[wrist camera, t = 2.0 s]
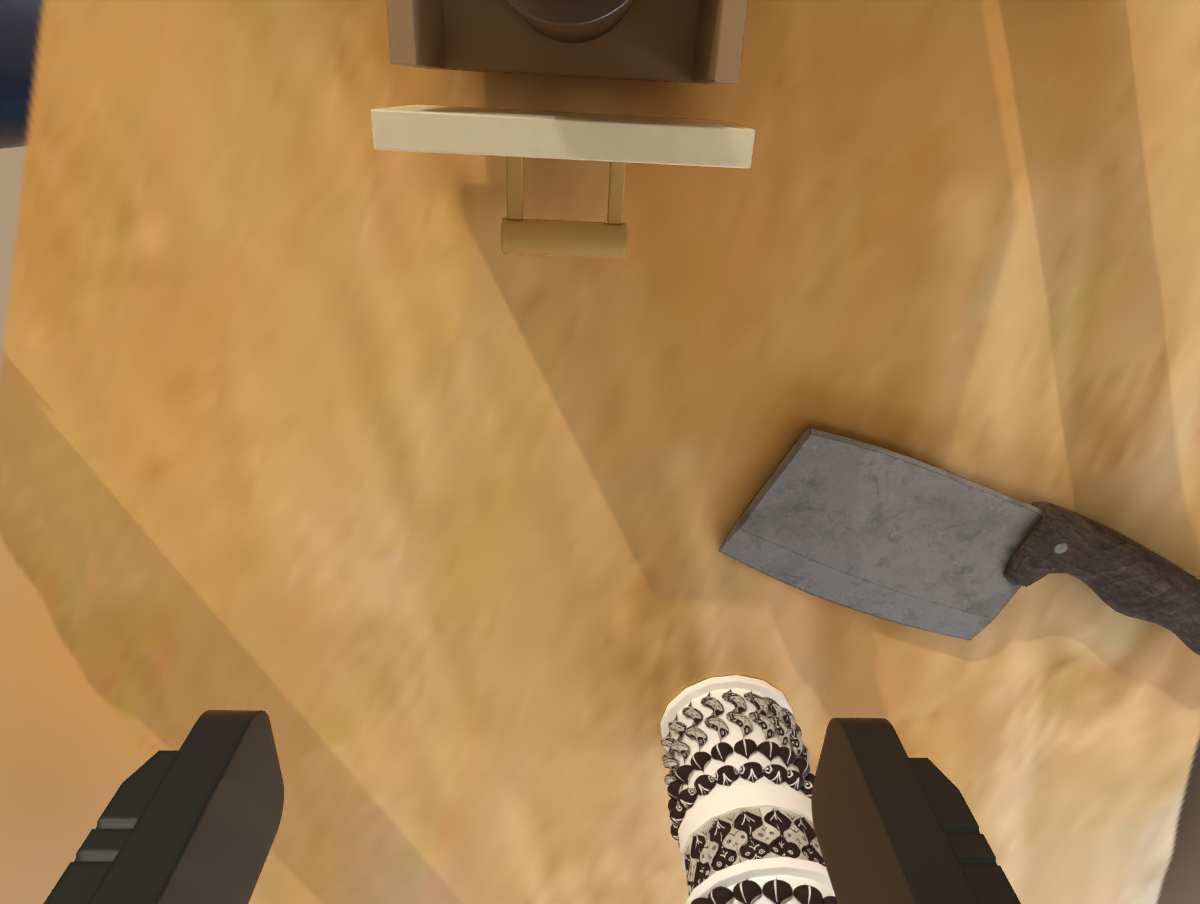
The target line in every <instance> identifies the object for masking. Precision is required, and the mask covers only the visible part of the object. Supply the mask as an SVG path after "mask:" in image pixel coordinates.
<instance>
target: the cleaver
mask: <svg viewBox="0 0 1200 904" xmlns="http://www.w3.org/2000/svg"><path fill="white" fill-rule="evenodd" d="M719 552H721V553H723V554H725V555H727V556H729V557H731V558H733V559H735V560H737V561H739V562H741V563H743V564H745V565H747V566H749V567H751V568H754V569H756V570H758V571H760V572H762V573H764V574H766V575H768V576H771V577H773V578H775V579H777V580H779V581H781V582H784V583H786V584H789V585H791V586H793V587H796V588H798V589H800V590H803V591H805V592H808V593H810V594H813V595H815V596H818V597H821V598H823V599H826V600H829V601H831V602H834V603H837V604H839V605H842V606H845V607H848V608H851V609H854V610H857V611H860V612H863V613H866V614H869V615H872V616H876V617H879V618H883V619H886V620H890V621H893V622H897V623H900V624H904V625H907V626H911V627H915V628H919V629H923V630H927V631H931V632H935V633H940V634H944V635H948V636H953V637H957V638H962V639H966V640H971V639H972V638H973V637H974V636H976V635H977V634H978V633H979V632H980V631H981V630H982V629H983V628H984V627H986V626H987V625H988V624H989V623H990V622H991V621H992V620H993V619H994V618H995V617H996V616H997V615H998V613H999V612H1000V611H1001V610H1002V609H1003V607H1004V606H1005V605H1006V604H1007V603H1008V601H1009V600H1010V599H1011V598H1012V596H1013V595H1014V594H1015V593H1016V592H1017V590H1018V589H1019V588H1020V587H1021V586H1026V587H1027V586H1029V585H1031V584H1032V583H1034V582H1036V581H1038V580H1039V579H1041V578H1042V577H1044V576H1046V575H1047V574H1049V573H1067V574H1069V575H1072V576H1075V577H1078V578H1080V579H1081V580H1082V581H1084V582H1085V583H1086V584H1088V585H1089V586H1090V587H1091V588H1092V590H1093V591H1094V592H1095V593H1096V594H1097V595H1098V596H1099V597H1100V598H1101V599H1102V600H1103V601H1104V602H1105V603H1106V604H1107V605H1109V606H1110V607H1111V608H1113V609H1114V610H1115V611H1117V612H1119V613H1122V614H1124V615H1127V616H1129V617H1133V618H1137V619H1141V620H1145V621H1149V622H1152V623H1156V624H1159V625H1161V626H1163V627H1165V628H1167V629H1169V630H1171V631H1172V632H1173V633H1175V634H1176V635H1177V636H1178V637H1179V638H1180V639H1181V640H1182V642H1183V643H1184V644H1185V645H1186V646H1187V647H1189V648H1190V649H1191V650H1192V651H1194V652H1195V653H1197V654H1198V655H1200V580H1198V579H1197V578H1195V577H1194V576H1192V575H1190V574H1189V573H1187V572H1186V571H1184V570H1182V569H1181V568H1179V567H1178V566H1176V565H1174V564H1173V563H1171V562H1169V561H1168V560H1166V559H1164V558H1163V557H1161V556H1159V555H1157V554H1156V553H1154V552H1152V551H1150V550H1149V549H1147V548H1145V547H1143V546H1142V545H1140V544H1138V543H1136V542H1134V541H1133V540H1131V539H1129V538H1127V537H1125V536H1123V535H1121V534H1119V533H1117V532H1115V531H1113V530H1112V529H1110V528H1107V527H1105V526H1103V525H1101V524H1099V523H1097V522H1094V521H1092V520H1090V519H1088V518H1085V517H1083V516H1081V515H1078V514H1076V513H1074V512H1071V511H1069V510H1066V509H1064V508H1061V507H1059V506H1056V505H1053V504H1050V503H1047V502H1036V503H1033V504H1032V505H1030V504H1028V503H1025V502H1023V501H1020V500H1018V499H1015V498H1013V497H1010V496H1007V495H1005V494H1002V493H1000V492H997V491H995V490H992V489H990V488H987V487H985V486H982V485H980V484H977V483H975V482H972V481H970V480H967V479H965V478H962V477H960V476H957V475H955V474H952V473H950V472H947V471H945V470H942V469H940V468H937V467H935V466H932V465H930V464H927V463H924V462H922V461H919V460H917V459H914V458H912V457H909V456H906V455H903V454H900V453H897V452H894V451H892V450H889V449H886V448H883V447H880V446H877V445H873V444H870V443H866V442H863V441H859V440H856V439H852V438H849V437H845V436H841V435H837V434H833V433H829V432H825V431H821V430H817V429H813V428H809V427H807V428H806V430H805V431H804V432H803V434H802V435H801V436H800V438H799V439H798V440H797V442H796V443H795V444H794V446H793V447H792V448H791V450H790V451H789V452H788V454H787V455H786V456H785V458H784V459H783V460H782V462H781V463H780V464H779V466H778V467H777V468H776V470H775V471H774V472H773V474H772V475H771V476H770V478H769V479H768V480H767V482H766V483H765V484H764V486H763V487H762V488H761V490H760V491H759V492H758V494H757V495H756V496H755V498H754V499H753V500H752V502H751V503H750V504H749V506H748V507H747V508H746V510H745V511H744V512H743V514H742V515H741V516H740V518H739V519H738V520H737V522H736V523H735V525H734V527H733V528H732V530H731V531H730V533H729V535H728V536H727V538H726V539H725V541H724V543H723V544H722V546H721V547H720V549H719Z"/></svg>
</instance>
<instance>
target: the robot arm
mask: <svg viewBox="0 0 1200 904" xmlns="http://www.w3.org/2000/svg"><path fill="white" fill-rule="evenodd" d="M283 802H284V785H283V779H282V774H281V770H280V765H279V761H278V756H277V752H276V747H275V742H274V738H273V733H272V729H271V724H270V720H269V717H268V715H267V713H266V712H265V711H241V710H208V711H206V712H205V713H203V714H202V715H201V716H200V717H199V719H198V720H197V722H196V723H195V725H194V726H193V728H192V730H191V731H190V733H189V735H188V736H187V738H186V740H185V742H184V743H183V745H182V747H181V748H180V750H179V751H158V752H157V753H156V754H155V755H154V756H153V757H151V758H150V759H149V760H148V761H147V762H146V763H145V764H144V765H142V766H141V767H140V768H139V769H138V770H137V771H136V772H134V773H133V774H132V775H131V776H130V777H129V778H128V779H126V780H125V781H124V782H123V783H122V785H121V786H120V787H119V789H118V791H117V792H116V794H115V796H114V797H113V798H112V800H111V801H110V803H109V804H108V806H107V807H106V809H105V811H104V812H103V813H102V815H101V817H100V818H99V820H98V821H97V823H98V824H97V827H96V829H92V830H91V832H90V833H89V835H88V837H87V838H86V840H85V841H84V843H83V844H82V846H81V847H80V849H79V850H78V852H77V853H76V859H75V861H74V862H71V863H70V864H69V866H68V867H67V869H66V870H65V872H64V873H63V875H62V876H61V878H60V879H59V881H58V882H57V884H56V886H55V887H54V889H53V890H52V892H51V893H50V895H49V896H48V898H47V900H46V901H45V902H44V904H248V903H249V900H250V898H251V895H252V893H253V890H254V888H255V885H256V883H257V880H258V878H259V875H260V873H261V871H262V868H263V866H264V863H265V861H266V858H267V856H268V853H269V851H270V848H271V846H272V843H273V841H274V838H275V836H276V833H277V830H278V827H279V824H280V820H281V815H282V810H283ZM811 808H812V818H813V825H814V830H815V834H816V837H817V841H818V844H819V847H820V850H821V853H822V856H823V859H824V863H825V866H826V869H827V872H828V875H829V878H830V881H831V885H832V888H833V891H834V894H835V897H836V900H837V903H838V904H1021V903H1020V901H1019V900H1018V898H1017V896H1016V894H1015V892H1014V890H1013V888H1012V887H1011V885H1010V883H1009V881H1008V879H1007V877H1006V876H1005V874H1004V872H1003V870H1002V868H1001V866H998V865H997V864H996V860H995V859H996V857H995V855H994V853H993V852H992V850H991V848H990V846H989V844H988V842H987V840H986V839H985V837H984V835H983V834H980V832H979V826H978V824H977V822H976V820H975V818H974V816H973V815H972V813H971V811H970V809H969V807H968V805H967V804H966V802H965V800H964V798H963V796H962V794H961V793H960V791H959V789H958V788H957V787H956V786H955V785H954V784H953V783H952V782H951V781H950V780H949V779H948V778H947V777H946V776H945V775H944V774H943V773H942V772H941V771H940V770H939V769H938V768H937V767H936V766H935V765H934V764H933V763H932V762H931V761H930V760H929V759H928V758H908V756H907V754H906V752H905V750H904V748H903V746H902V744H901V742H900V740H899V738H898V736H897V734H896V732H895V730H894V728H893V726H892V725H891V723H890V722H889V721H888V720H886V719H884V718H833V719H831V720H830V722H829V724H828V727H827V731H826V735H825V739H824V743H823V747H822V751H821V755H820V759H819V763H818V767H817V771H816V775H815V780H814V784H813V788H812V797H811Z"/></svg>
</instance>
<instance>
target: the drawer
mask: <svg viewBox="0 0 1200 904" xmlns="http://www.w3.org/2000/svg"><path fill="white" fill-rule="evenodd" d="M747 5H748V0H634V2H633V3H632V5H631V7H630V9H629V10H628V12H627V13H626V15H625V16H624V17H623V19H622V20H621V21H620V22H619V23H618V24H617V25H616V26H615V27H614V28H613V29H612V30H610V31H609V32H607V33H606V34H605V35H603V36H601V37H599V38H597V39H594V40H591V41H588V42H582V43H565V42H559V41H556V40H553V39H550V38H548V37H546V36H544V35H542V34H541V33H539V32H538V31H536V30H535V29H534V28H533V27H531V26H530V25H529V24H528V23H527V22H526V21H525V19H524V18H523V17H522V16H521V15H520V14H519V13H518V12H517V11H516V10H515V8H514V7H513V6H512V5H511V4H510V3H509V2H508V1H507V0H387V15H388V29H389V43H390V58H391V64H393V65H401V66H410V67H419V68H428V69H444V70H463V71H481V72H499V73H518V74H536V75H554V76H573V77H591V78H609V79H628V80H646V81H664V82H683V83H701V84H725V83H738V80H739V72H740V64H741V56H742V47H743V39H744V30H745V22H746V13H747ZM371 121H372V133H373V145H374V149H375V150H391V151H411V152H431V153H451V154H471V155H491V156H507V218H503V220H502V229H501V244H502V252H503V253H504V254H521V255H543V256H565V257H588V258H610V259H625V257H626V248H627V224H625V223H623V206H624V189H625V173H626V162H630V163H650V164H670V165H690V166H710V167H729V168H750V167H751V160H752V152H753V145H754V137H755V130H754V129H751V128H747V127H743V126H739V125H735V124H731V123H728V122H724V121H719V120H700V119H681V118H662V117H643V116H624V115H605V114H586V113H567V112H548V111H529V110H510V109H491V108H472V107H453V106H434V105H407V106H398V107H388V108H379V109H372V110H371ZM523 157H530V158H550V159H570V160H590V161H610V176H609V195H608V215H607V222H608V223H605V222H583V221H562V220H541V219H522V218H523Z"/></svg>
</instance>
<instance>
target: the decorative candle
mask: <svg viewBox="0 0 1200 904" xmlns="http://www.w3.org/2000/svg"><path fill="white" fill-rule="evenodd" d="M660 726H661V734H662V740H661V744H662V745H663V746H664V748H665V749H666V750H667V753H666V754H664V755H663V756H662V760H663V765H664V767H666V768H670V769H671V770H670V773H669V774H667V775H666V776H665V778H664V781H665V783H666V784H667V785H669V786H668V789H667V793H668V795H669V796H670V797H671V799H670V800H669V803H668V808H669V811H670V819H671V820H672V821H673V822H674V823H673V824H672V826H671V835H672V837H673V838H674V839H676V840H678V841H679V848H680V853H681V861H682V870H683V873H684V874H685V875H686V877H687V884H688V892H689V898H688V900H687V902H686V904H838V903H837V900H836V897H835V894H834V891H833V888H832V885H831V881H830V878H829V875H828V872H827V869H826V866H825V863H824V859H823V856H822V853H821V850H820V847H819V844H818V841H817V837H816V834H815V830H814V825H813V818H812V808H811V797H812V788H813V784H814V780H815V776H814V775H813V774H811V773H809V772H810V766H809V764H808V762H809V753H808V750H807V748H806V747H805V746H804V745H803V744H802V739H801V738H802V733H801V729H800V727H799V726H798V725H797V724H795V719H794V713H793V710H792V708H791V706H790V705H789V703H788V702H787V700H786V698H785V697H784V695H783V693H782V692H781V691H779V690H777V689H776V688H774V687H773V686H771V685H769V684H768V683H766V682H765V681H763V680H759V679H754V678H749V677H745V676H740V675H732V676H723V677H713V678H708V679H706V680H704V681H701V682H699V683H697V684H694V685H692V686H690V687H687V688H685V689H684V690H683V691H682V692H681V693H680V694H679V695H678V696H677V697H675V698H674V699H673V700H672V701H671V702H670V703H669V704H668V706H667V708H666V711H665V713H664V715H663V718H662V720H661V722H660ZM678 801H679V802H678Z"/></svg>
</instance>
